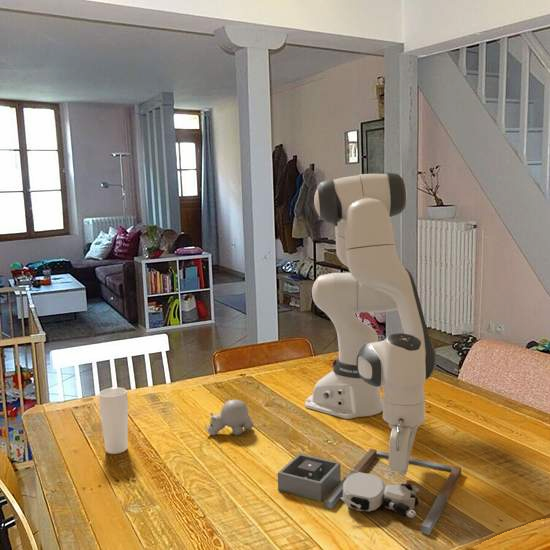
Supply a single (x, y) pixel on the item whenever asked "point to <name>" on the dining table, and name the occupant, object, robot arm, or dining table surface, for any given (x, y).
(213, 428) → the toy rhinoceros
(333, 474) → the tray
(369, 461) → the track
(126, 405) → the drinking glass
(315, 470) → the die
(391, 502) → the robot toy
